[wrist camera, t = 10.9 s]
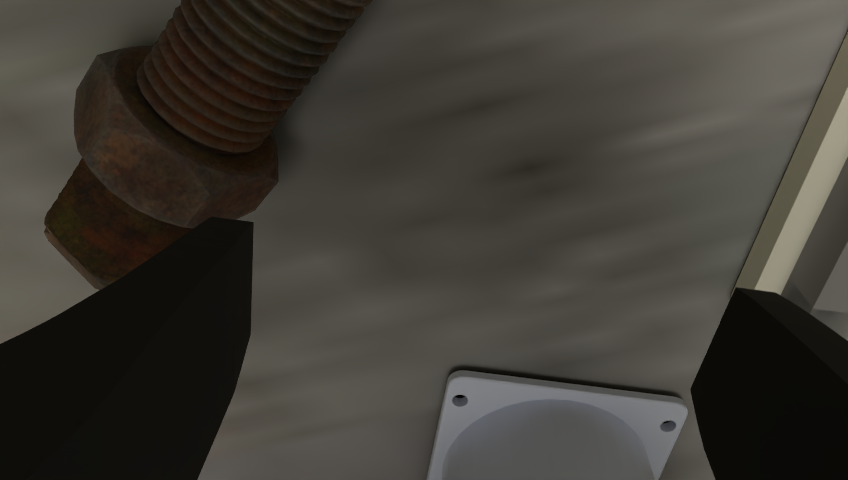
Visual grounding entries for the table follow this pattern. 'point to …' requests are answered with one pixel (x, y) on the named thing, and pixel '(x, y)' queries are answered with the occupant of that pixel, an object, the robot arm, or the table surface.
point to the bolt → (186, 126)
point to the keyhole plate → (811, 215)
